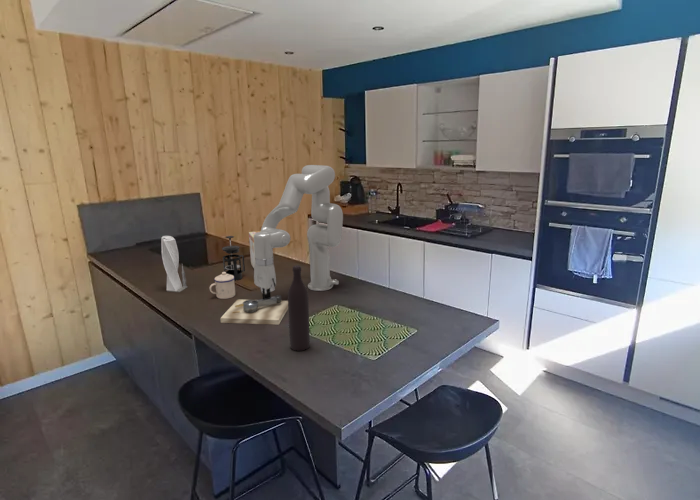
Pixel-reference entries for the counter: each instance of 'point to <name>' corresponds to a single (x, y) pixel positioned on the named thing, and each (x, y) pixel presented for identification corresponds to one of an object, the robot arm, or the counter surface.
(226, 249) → the french press
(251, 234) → the coffeecake box
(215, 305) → the counter surface
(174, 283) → the skyscraper
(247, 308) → the lever
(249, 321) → the wooden cutting board
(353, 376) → the counter surface
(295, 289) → the wine bottle
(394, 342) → the counter surface
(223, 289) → the teacup with lid
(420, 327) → the counter surface
